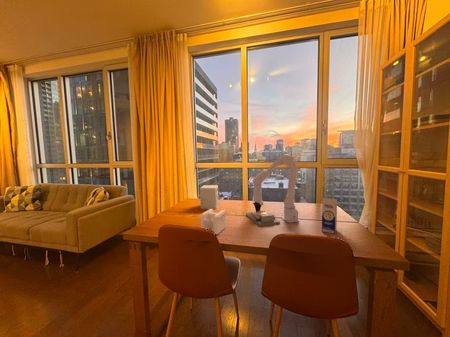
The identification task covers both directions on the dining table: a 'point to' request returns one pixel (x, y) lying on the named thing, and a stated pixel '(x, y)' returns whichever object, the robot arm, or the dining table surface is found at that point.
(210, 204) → the supplement box
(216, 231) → the cable organizer
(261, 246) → the dining table surface
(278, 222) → the cutter base
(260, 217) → the cutter blade
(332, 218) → the milk carton
